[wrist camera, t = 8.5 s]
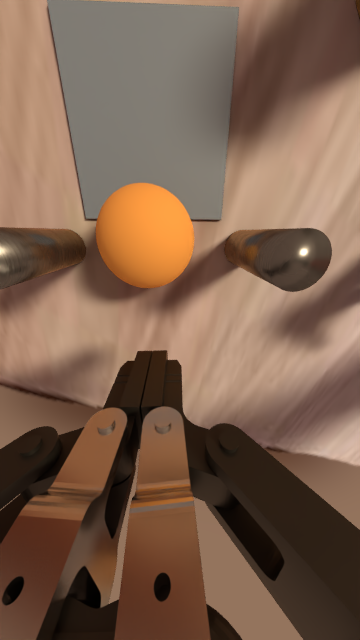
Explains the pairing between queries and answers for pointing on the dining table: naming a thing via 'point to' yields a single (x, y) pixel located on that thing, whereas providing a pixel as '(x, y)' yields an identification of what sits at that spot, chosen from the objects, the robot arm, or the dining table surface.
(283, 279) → the post
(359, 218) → the dining table surface
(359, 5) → the cork
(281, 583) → the robot arm
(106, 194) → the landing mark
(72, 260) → the post
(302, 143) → the dining table surface
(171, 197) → the ball
